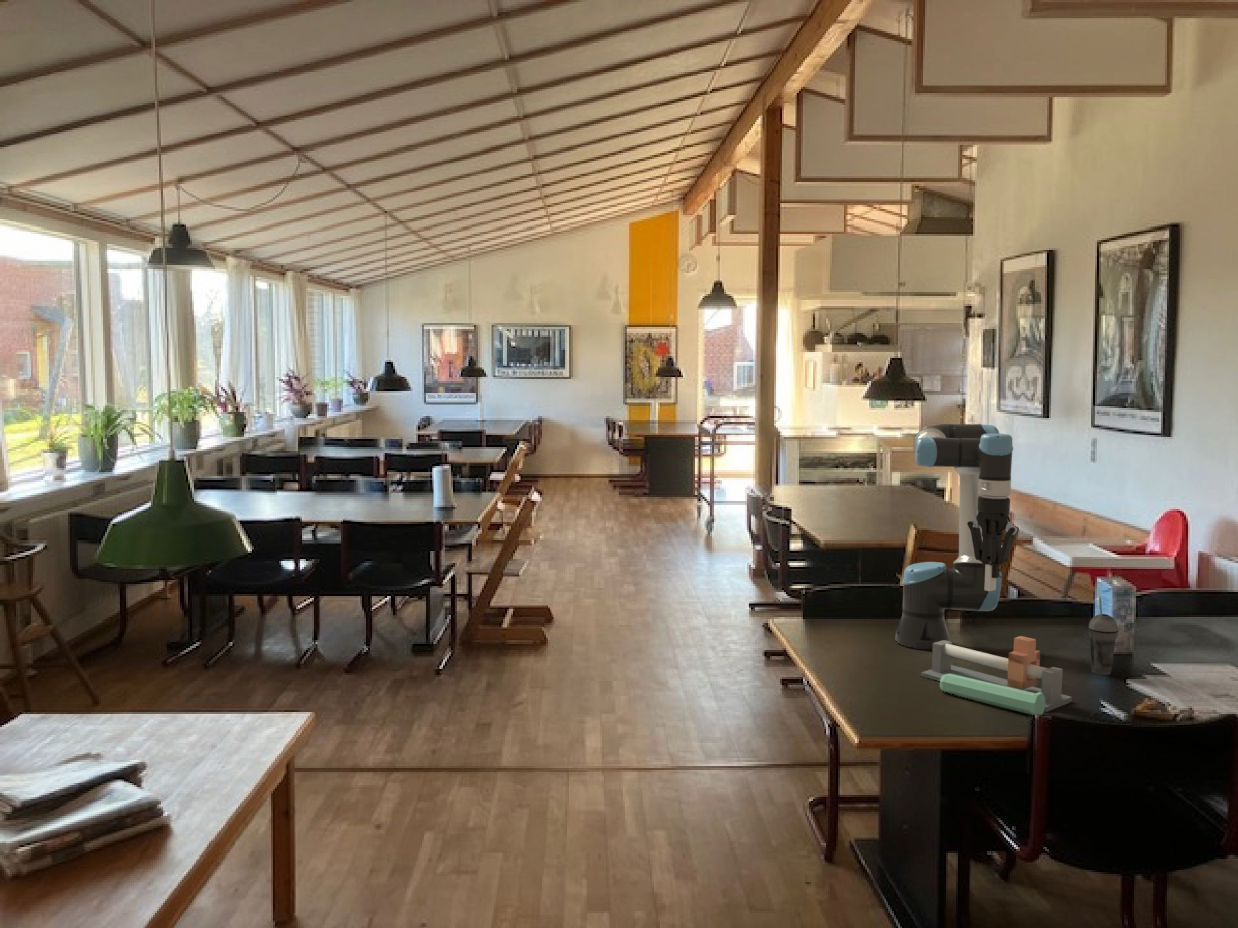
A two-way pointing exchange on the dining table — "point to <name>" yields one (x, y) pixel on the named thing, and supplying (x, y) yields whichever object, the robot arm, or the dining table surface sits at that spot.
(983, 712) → the dining table surface
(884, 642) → the dining table surface
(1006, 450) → the robot arm
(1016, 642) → the collar
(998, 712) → the dining table surface
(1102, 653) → the beverage cup
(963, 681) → the light green long prism
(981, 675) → the rail
